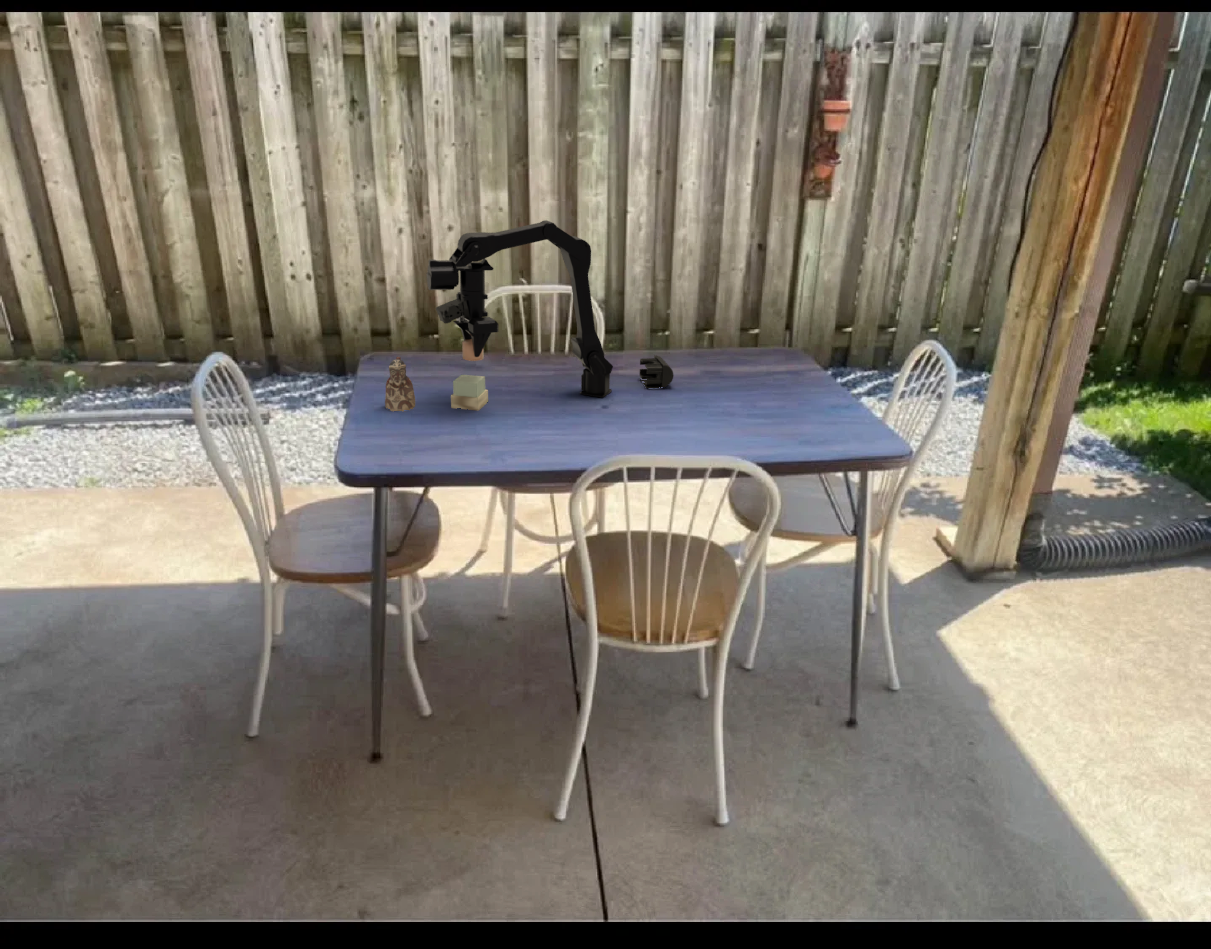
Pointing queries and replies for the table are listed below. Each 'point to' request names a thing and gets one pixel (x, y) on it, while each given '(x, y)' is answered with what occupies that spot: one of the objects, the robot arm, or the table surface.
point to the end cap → (655, 372)
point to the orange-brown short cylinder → (470, 351)
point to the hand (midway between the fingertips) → (473, 353)
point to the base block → (469, 401)
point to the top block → (469, 386)
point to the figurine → (399, 388)
